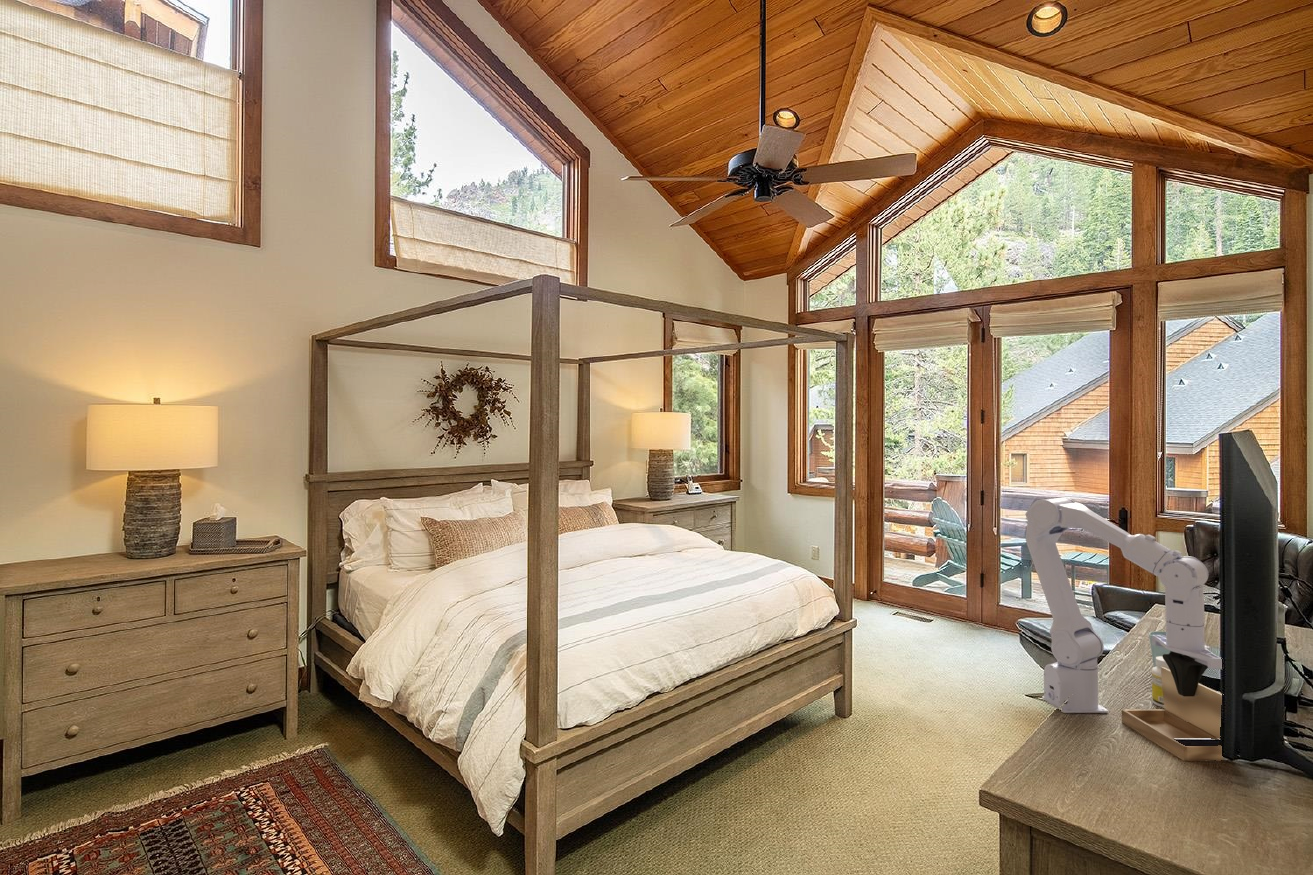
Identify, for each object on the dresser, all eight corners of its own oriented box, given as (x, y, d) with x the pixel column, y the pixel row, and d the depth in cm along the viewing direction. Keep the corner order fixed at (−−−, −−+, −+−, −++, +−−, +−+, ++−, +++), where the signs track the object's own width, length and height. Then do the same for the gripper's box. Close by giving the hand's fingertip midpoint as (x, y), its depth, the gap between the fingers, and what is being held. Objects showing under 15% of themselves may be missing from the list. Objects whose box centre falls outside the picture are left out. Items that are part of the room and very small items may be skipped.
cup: (1200, 686, 151) (1199, 640, 151) (1168, 687, 150) (1167, 641, 150) (1172, 674, 158) (1171, 630, 158) (1141, 675, 158) (1140, 631, 158)
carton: (1184, 761, 117) (1184, 746, 117) (1121, 721, 133) (1121, 709, 133) (1233, 760, 117) (1233, 746, 117) (1164, 721, 133) (1164, 709, 133)
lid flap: (1228, 698, 117) (1231, 698, 117) (1160, 666, 133) (1163, 666, 133) (1232, 746, 117) (1235, 745, 117) (1164, 708, 133) (1166, 708, 133)
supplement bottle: (1173, 700, 143) (1172, 655, 143) (1190, 710, 138) (1190, 663, 138) (1146, 699, 143) (1145, 654, 143) (1162, 710, 138) (1162, 663, 138)
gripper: (1239, 633, 117) (1241, 710, 117) (1176, 612, 132) (1178, 680, 132) (1199, 633, 117) (1200, 710, 117) (1140, 612, 132) (1142, 681, 132)
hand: (1186, 694), depth 124 cm, fingers closed, pressing on lid flap
